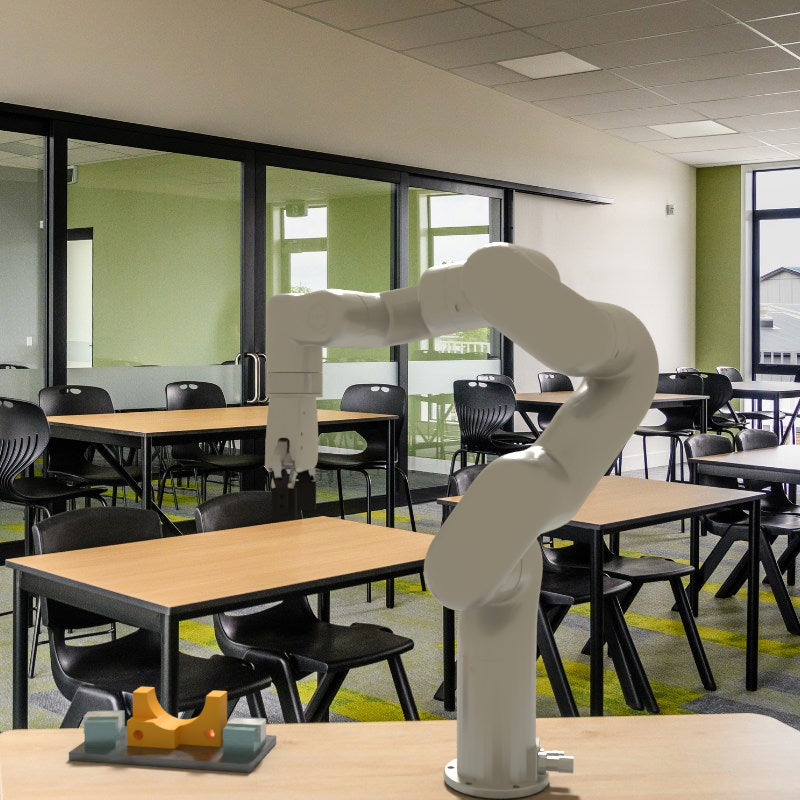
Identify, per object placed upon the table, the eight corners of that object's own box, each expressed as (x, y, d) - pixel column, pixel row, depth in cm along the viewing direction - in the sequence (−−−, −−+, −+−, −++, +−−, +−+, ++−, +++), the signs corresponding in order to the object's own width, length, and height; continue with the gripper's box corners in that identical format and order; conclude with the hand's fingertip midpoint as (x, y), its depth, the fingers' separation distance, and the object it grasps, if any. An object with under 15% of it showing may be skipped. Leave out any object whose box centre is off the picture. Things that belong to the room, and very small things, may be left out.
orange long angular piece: (127, 745, 139) (127, 695, 139) (141, 734, 143) (140, 686, 143) (215, 751, 137) (215, 700, 137) (227, 740, 141) (227, 691, 141)
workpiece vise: (276, 743, 143) (276, 709, 143) (249, 772, 132) (249, 736, 132) (106, 732, 147) (106, 699, 147) (67, 760, 137) (67, 724, 137)
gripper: (285, 386, 153) (286, 506, 153) (246, 387, 136) (247, 522, 136) (337, 386, 152) (337, 507, 152) (304, 387, 135) (304, 523, 135)
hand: (294, 514), depth 144 cm, fingers open, 9 cm apart
